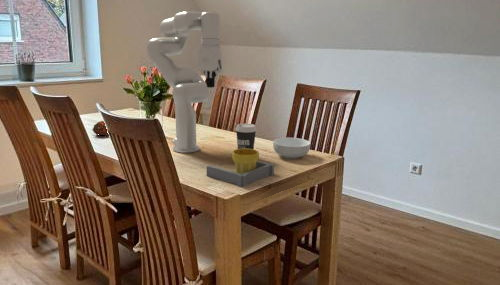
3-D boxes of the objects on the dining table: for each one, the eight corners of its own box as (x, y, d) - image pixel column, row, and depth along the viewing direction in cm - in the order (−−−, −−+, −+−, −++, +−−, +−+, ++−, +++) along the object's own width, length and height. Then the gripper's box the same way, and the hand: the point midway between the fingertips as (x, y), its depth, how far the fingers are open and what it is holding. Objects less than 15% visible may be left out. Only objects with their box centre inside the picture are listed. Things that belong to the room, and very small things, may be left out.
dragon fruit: (102, 141, 230) (100, 139, 241) (114, 130, 232) (112, 129, 243) (90, 128, 227) (89, 127, 238) (103, 118, 229) (101, 117, 240)
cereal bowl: (279, 162, 192) (280, 147, 190) (268, 152, 207) (268, 138, 206) (315, 160, 196) (316, 145, 194) (301, 150, 212) (302, 136, 210)
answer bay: (205, 176, 172) (205, 166, 171) (238, 164, 188) (238, 155, 187) (242, 187, 161) (242, 176, 160) (275, 173, 177) (275, 164, 176)
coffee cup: (234, 155, 202) (234, 123, 198) (255, 154, 203) (255, 123, 199) (235, 161, 193) (235, 127, 189) (257, 160, 194) (257, 127, 190)
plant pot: (263, 177, 172) (263, 153, 170) (239, 181, 168) (239, 156, 165) (250, 169, 181) (251, 147, 179) (227, 173, 176) (228, 149, 174)
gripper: (191, 42, 184) (192, 86, 189) (217, 43, 175) (217, 89, 180) (203, 42, 190) (204, 84, 194) (229, 43, 181) (229, 88, 185)
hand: (210, 87), depth 187 cm, fingers closed
